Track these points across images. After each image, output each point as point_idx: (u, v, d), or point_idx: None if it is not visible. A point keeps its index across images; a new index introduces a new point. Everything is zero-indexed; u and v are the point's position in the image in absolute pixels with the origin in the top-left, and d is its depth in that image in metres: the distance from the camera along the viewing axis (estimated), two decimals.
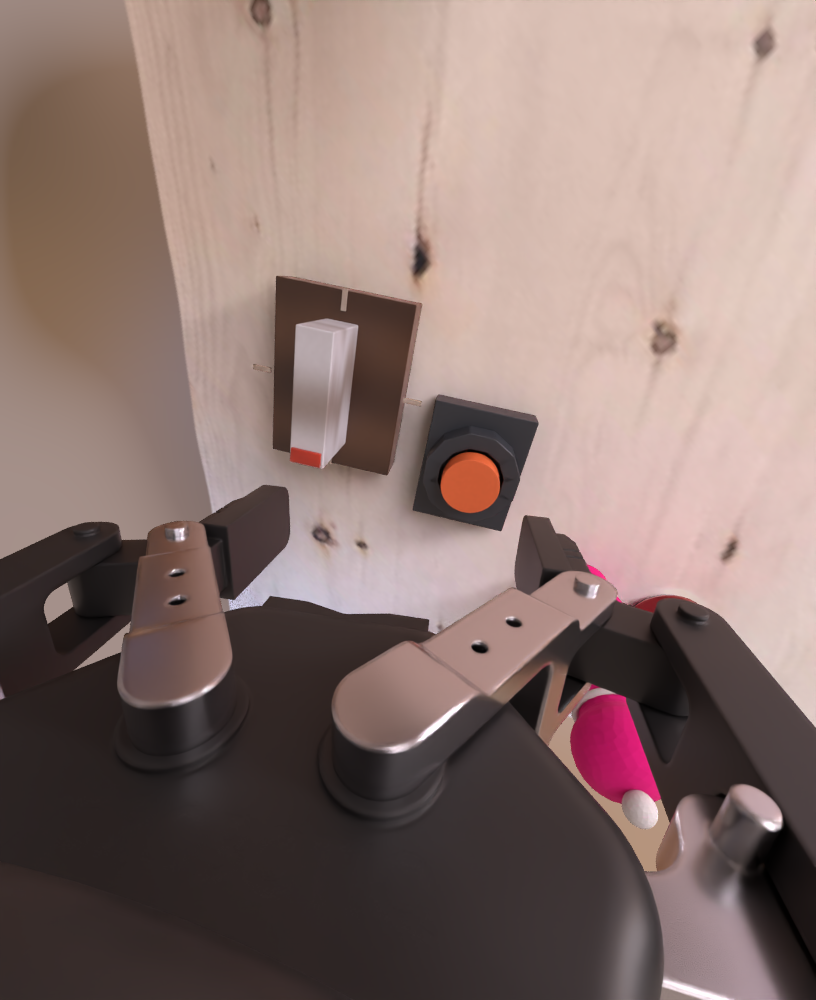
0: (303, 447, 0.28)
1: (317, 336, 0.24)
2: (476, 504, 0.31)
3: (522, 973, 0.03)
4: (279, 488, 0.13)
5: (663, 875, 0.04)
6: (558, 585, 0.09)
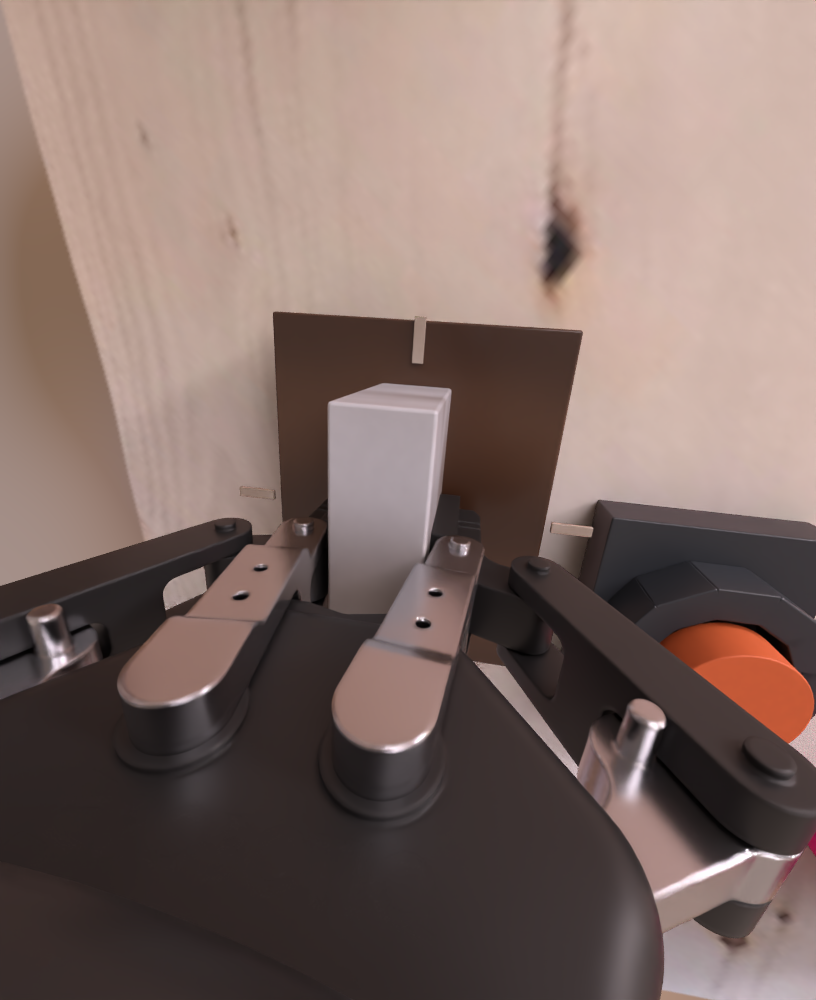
0: None
1: (390, 427, 0.09)
2: None
3: (590, 996, 0.03)
4: None
5: (607, 805, 0.05)
6: (440, 551, 0.10)
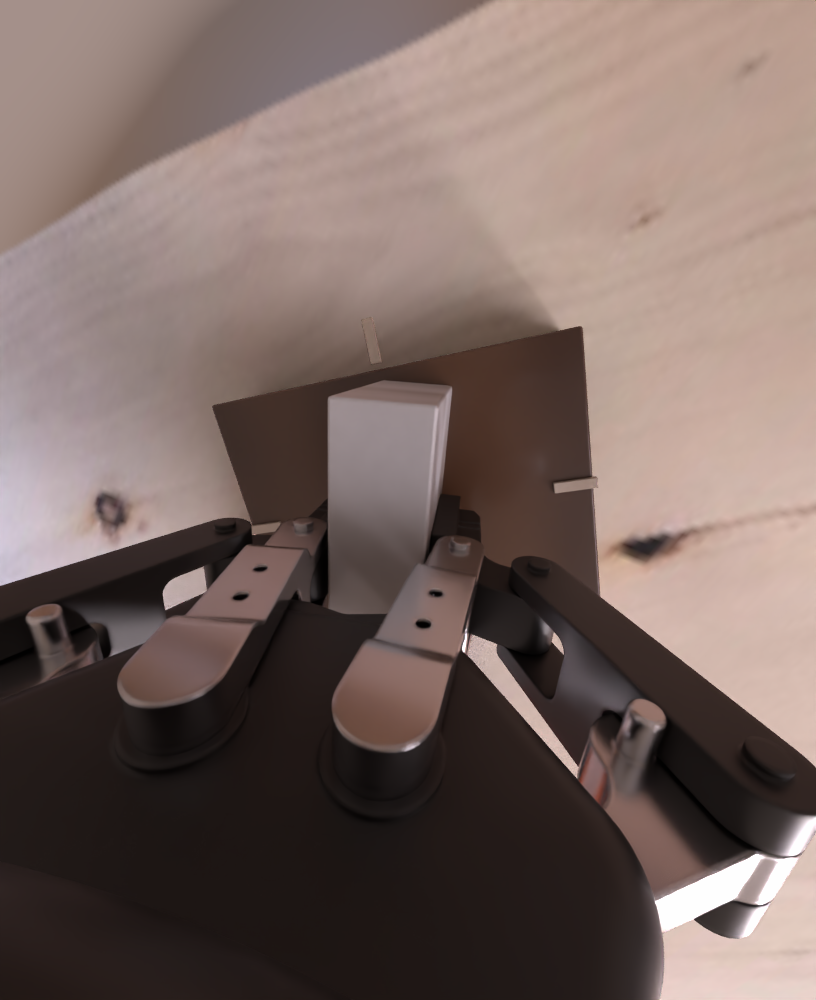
0: None
1: (390, 421, 0.09)
2: None
3: (591, 997, 0.03)
4: None
5: (608, 805, 0.05)
6: (440, 551, 0.10)
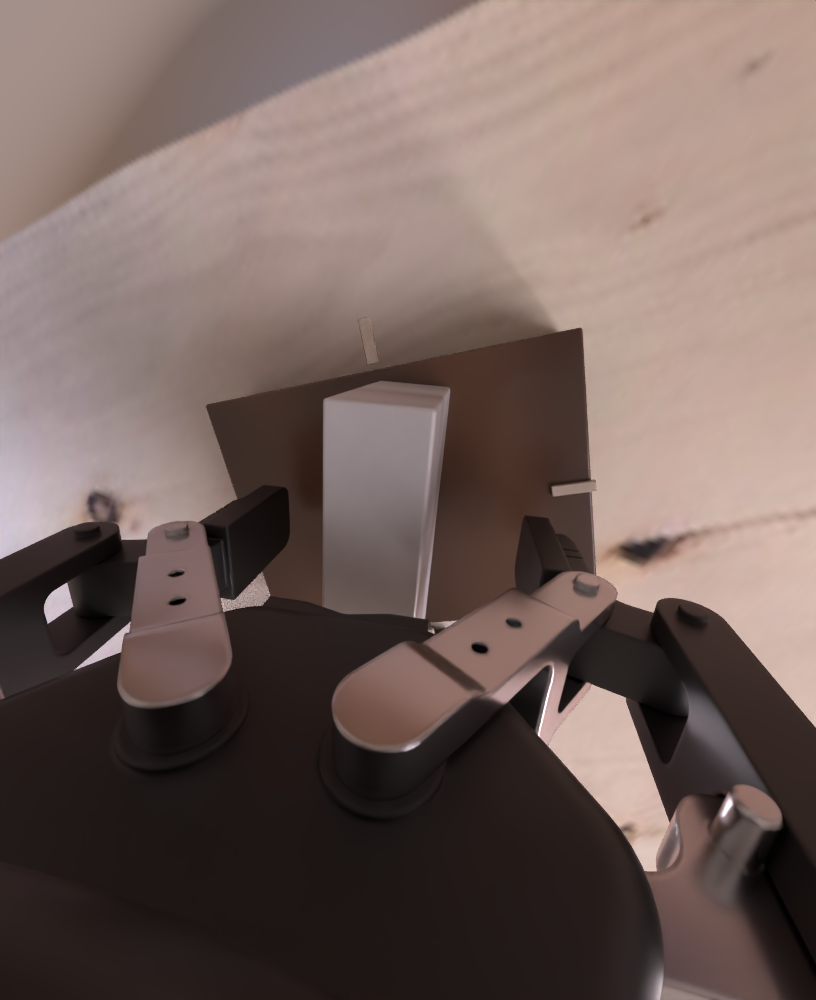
0: None
1: (387, 425, 0.08)
2: None
3: (522, 974, 0.03)
4: (279, 488, 0.13)
5: (663, 875, 0.04)
6: (558, 585, 0.09)
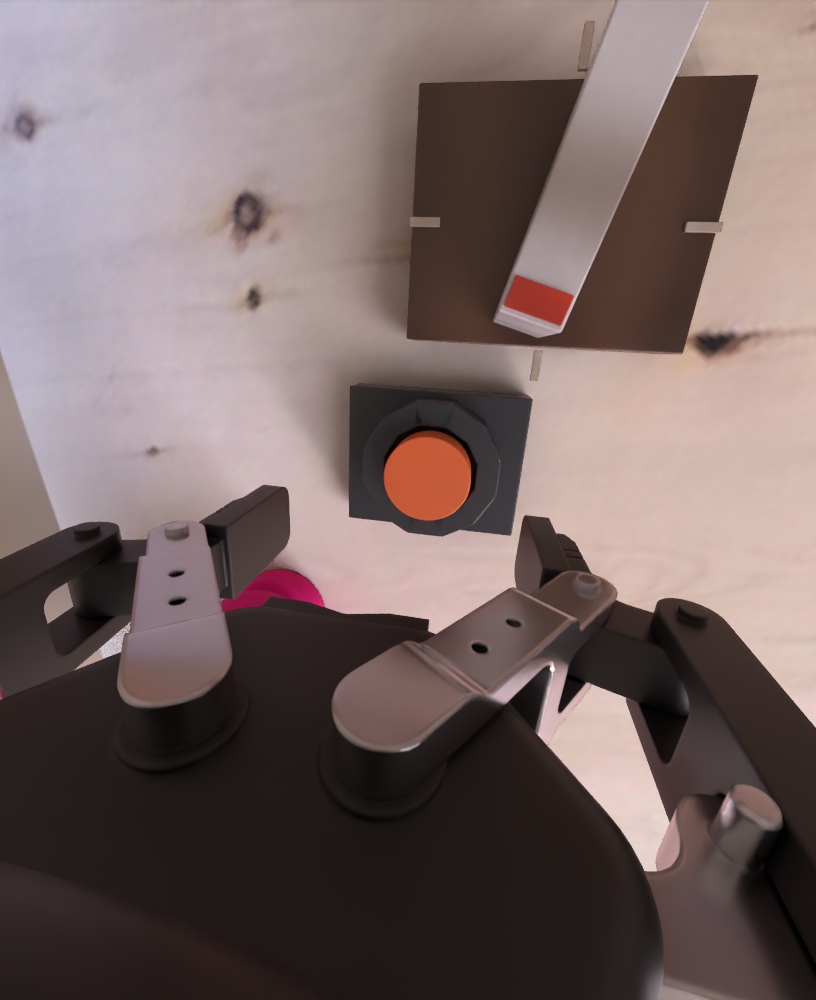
0: (540, 280, 0.14)
1: (668, 4, 0.11)
2: (400, 493, 0.21)
3: (522, 973, 0.03)
4: (279, 488, 0.13)
5: (663, 875, 0.04)
6: (558, 585, 0.09)
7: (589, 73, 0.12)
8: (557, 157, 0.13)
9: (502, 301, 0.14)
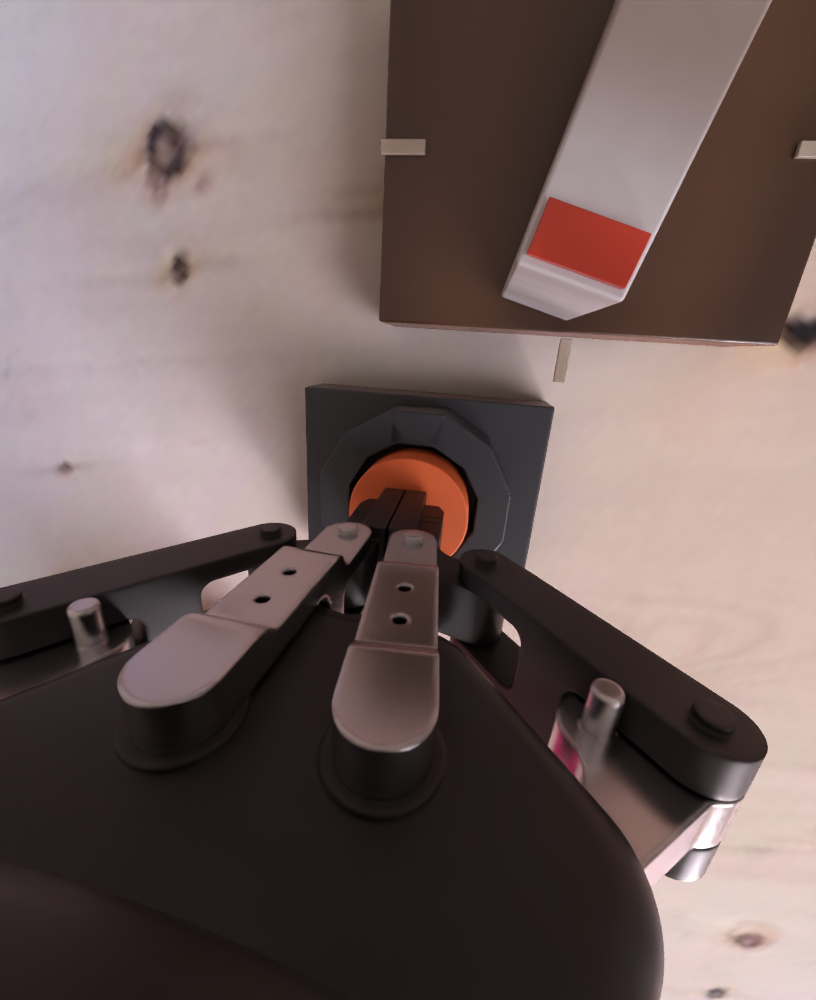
0: (590, 207, 0.08)
1: None
2: None
3: (614, 991, 0.03)
4: (402, 490, 0.14)
5: (584, 786, 0.05)
6: (395, 547, 0.10)
7: None
8: None
9: (523, 247, 0.08)
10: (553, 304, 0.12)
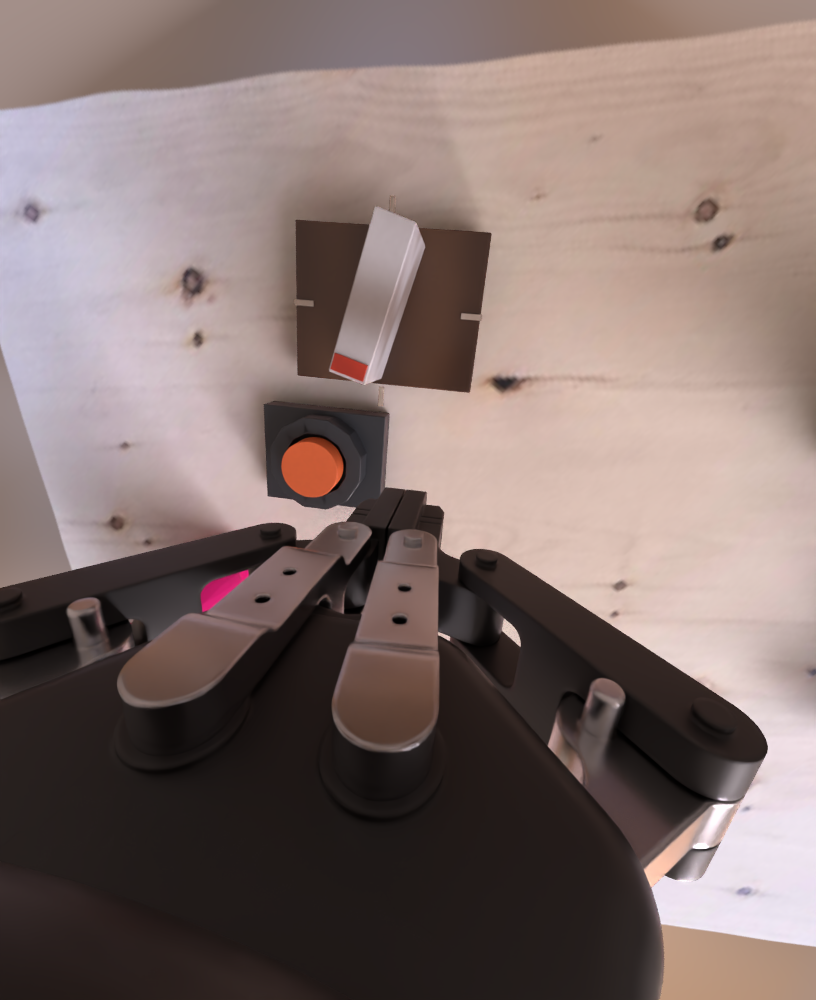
0: (349, 355, 0.24)
1: (396, 223, 0.22)
2: (293, 478, 0.31)
3: (615, 992, 0.03)
4: (402, 490, 0.14)
5: (584, 786, 0.05)
6: (396, 547, 0.10)
7: (362, 251, 0.22)
8: (351, 291, 0.23)
9: (330, 366, 0.25)
10: None
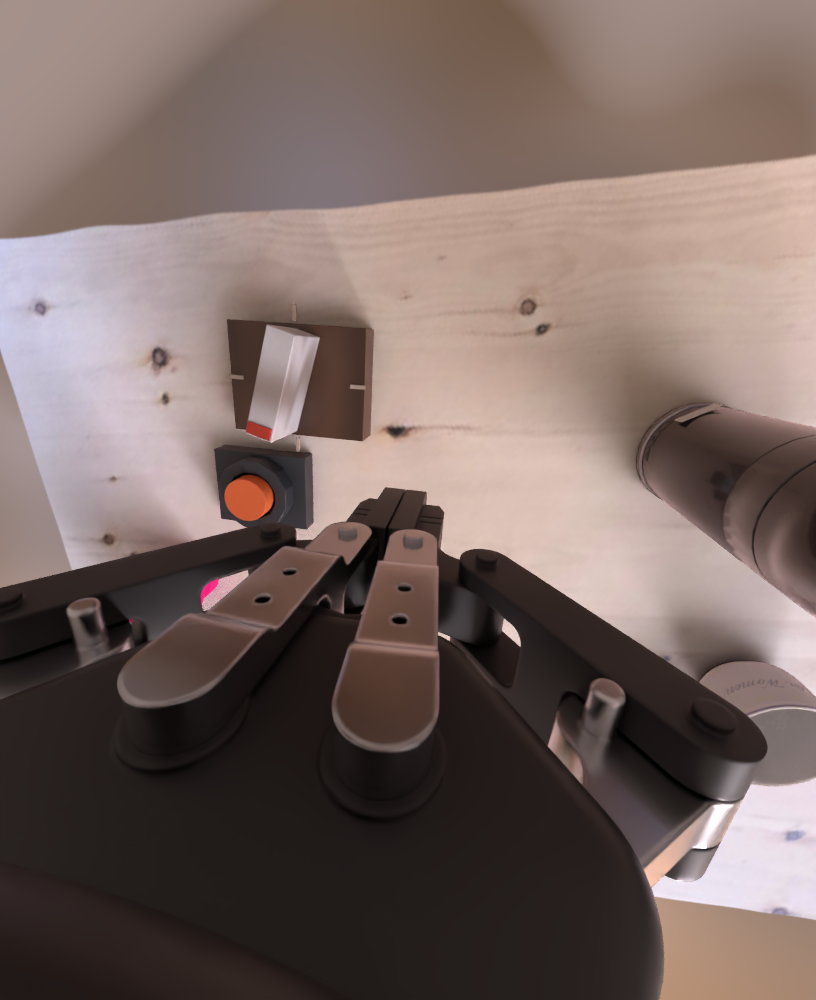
0: (258, 422, 0.34)
1: (281, 336, 0.31)
2: (233, 507, 0.41)
3: (614, 992, 0.03)
4: (402, 490, 0.14)
5: (584, 786, 0.05)
6: (396, 547, 0.10)
7: (261, 353, 0.32)
8: (256, 379, 0.33)
9: (246, 429, 0.34)
10: None
